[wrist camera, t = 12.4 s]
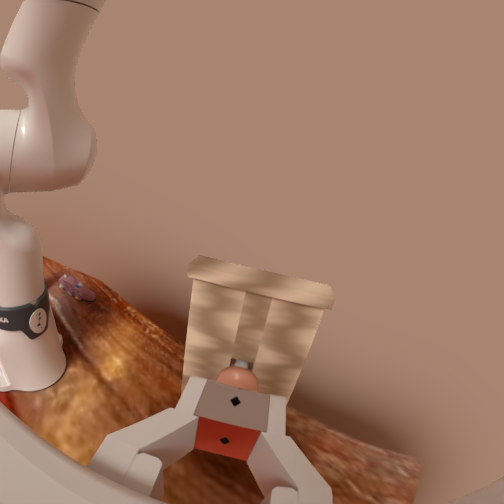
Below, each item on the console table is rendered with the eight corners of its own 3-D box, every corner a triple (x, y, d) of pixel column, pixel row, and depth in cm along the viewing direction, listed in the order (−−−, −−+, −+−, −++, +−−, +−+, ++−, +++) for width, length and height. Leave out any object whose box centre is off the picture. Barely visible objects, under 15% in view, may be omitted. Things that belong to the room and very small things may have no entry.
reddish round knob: (210, 398, 24) (215, 367, 22) (226, 349, 32) (233, 320, 31) (253, 409, 23) (264, 378, 22) (261, 357, 32) (269, 328, 31)
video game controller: (62, 297, 55) (52, 278, 51) (72, 285, 59) (63, 265, 54) (88, 311, 54) (78, 292, 49) (98, 297, 57) (89, 278, 53)
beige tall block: (174, 432, 30) (189, 263, 23) (187, 403, 36) (208, 246, 30) (266, 455, 29) (335, 297, 23) (270, 423, 35) (324, 273, 29)
